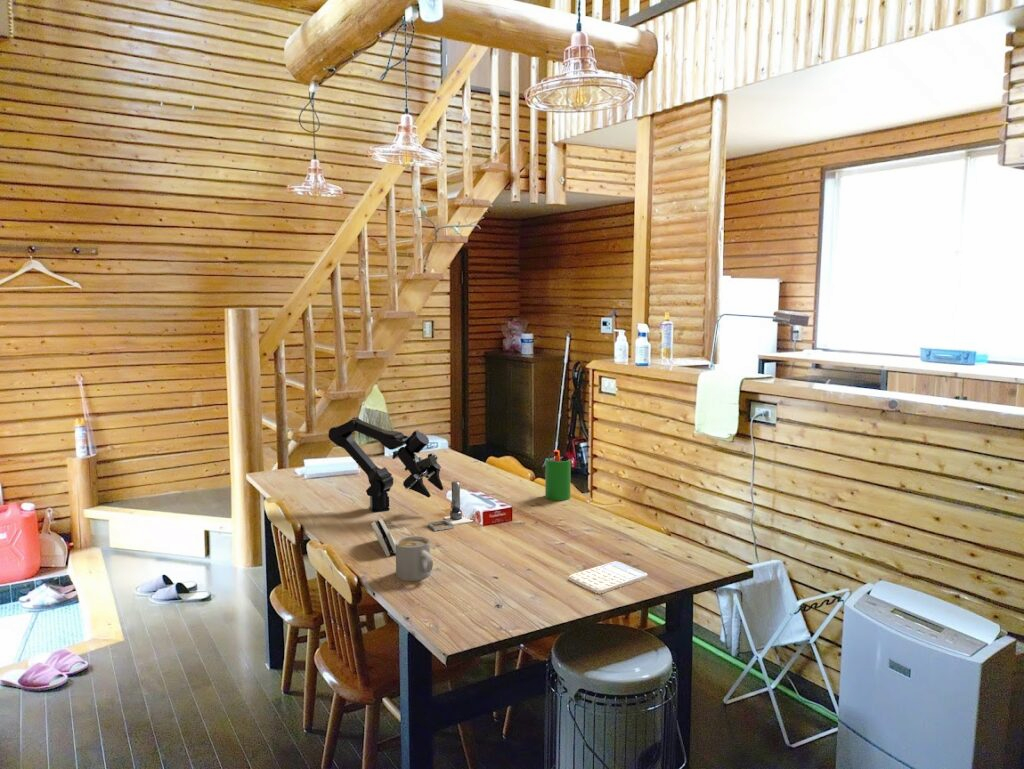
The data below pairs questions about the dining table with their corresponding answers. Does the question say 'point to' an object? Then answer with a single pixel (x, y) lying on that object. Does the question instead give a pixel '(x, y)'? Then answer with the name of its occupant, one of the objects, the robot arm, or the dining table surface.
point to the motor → (557, 478)
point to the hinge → (384, 537)
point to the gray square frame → (431, 524)
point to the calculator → (607, 577)
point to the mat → (456, 522)
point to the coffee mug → (413, 558)
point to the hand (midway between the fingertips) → (436, 493)
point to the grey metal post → (455, 502)
